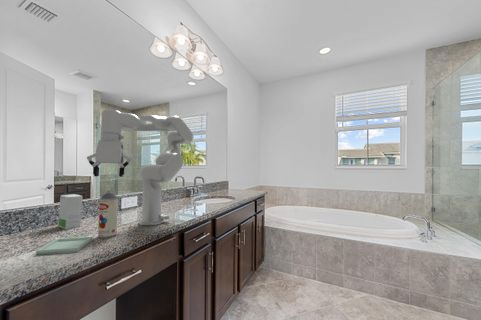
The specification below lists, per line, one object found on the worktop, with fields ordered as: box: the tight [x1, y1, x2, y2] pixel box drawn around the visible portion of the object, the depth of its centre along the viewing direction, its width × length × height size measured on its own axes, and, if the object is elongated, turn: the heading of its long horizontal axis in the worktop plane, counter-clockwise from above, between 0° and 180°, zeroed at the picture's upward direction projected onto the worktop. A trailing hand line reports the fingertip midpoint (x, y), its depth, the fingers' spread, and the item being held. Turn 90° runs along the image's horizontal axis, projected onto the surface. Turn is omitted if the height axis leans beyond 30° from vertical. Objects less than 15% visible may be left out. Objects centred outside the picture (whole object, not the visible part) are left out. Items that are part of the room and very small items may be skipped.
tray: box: [35, 236, 94, 256], centre depth 79 cm, size 12×12×2 cm
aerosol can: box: [97, 189, 119, 239], centre depth 92 cm, size 7×7×20 cm
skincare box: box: [57, 193, 83, 230], centre depth 105 cm, size 8×7×16 cm
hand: (108, 176), depth 92 cm, fingers open, 9 cm apart
